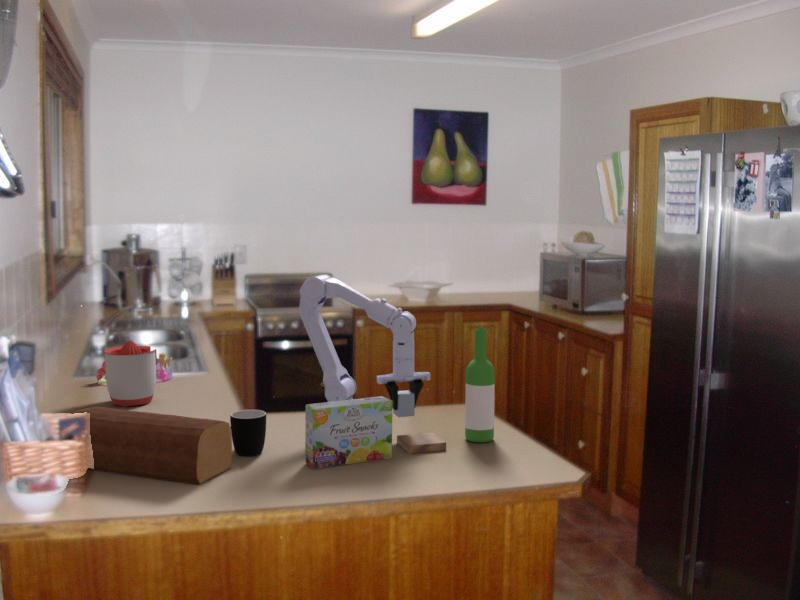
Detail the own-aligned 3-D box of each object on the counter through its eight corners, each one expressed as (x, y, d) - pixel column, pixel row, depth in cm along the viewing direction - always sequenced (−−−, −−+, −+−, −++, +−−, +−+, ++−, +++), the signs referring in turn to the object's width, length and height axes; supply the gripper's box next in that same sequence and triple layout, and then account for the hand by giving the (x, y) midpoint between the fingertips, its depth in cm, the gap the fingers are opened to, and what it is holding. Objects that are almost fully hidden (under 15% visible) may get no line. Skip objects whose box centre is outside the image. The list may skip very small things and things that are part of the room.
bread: (198, 488, 193) (196, 429, 191) (60, 468, 207) (58, 413, 205) (235, 467, 207) (234, 413, 206) (104, 450, 221) (102, 399, 219)
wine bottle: (482, 445, 225) (483, 332, 222) (458, 439, 230) (460, 328, 227) (499, 439, 231) (501, 328, 227) (476, 433, 236) (478, 325, 233)
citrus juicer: (170, 403, 270) (168, 340, 267) (114, 411, 260) (111, 346, 258) (154, 394, 282) (152, 333, 280) (100, 401, 273) (97, 338, 270)
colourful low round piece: (121, 372, 319) (120, 347, 318) (182, 374, 316) (181, 349, 314) (88, 387, 294) (87, 360, 293) (154, 389, 291) (153, 362, 290)
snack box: (313, 470, 205) (312, 408, 203) (305, 464, 210) (304, 403, 208) (393, 458, 214) (393, 399, 212) (383, 452, 219) (383, 394, 217)
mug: (274, 452, 218) (273, 413, 217) (244, 460, 212) (243, 420, 211) (246, 443, 227) (246, 405, 226) (217, 450, 221) (216, 411, 219)
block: (398, 417, 227) (398, 395, 226) (393, 413, 231) (393, 391, 230) (414, 415, 229) (414, 393, 228) (408, 411, 233) (408, 390, 232)
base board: (409, 453, 218) (409, 445, 218) (396, 442, 227) (396, 435, 227) (446, 449, 221) (446, 442, 221) (432, 439, 231) (432, 432, 230)
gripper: (382, 362, 222) (382, 414, 224) (434, 359, 227) (434, 409, 228) (374, 357, 229) (374, 407, 230) (425, 354, 233) (425, 403, 235)
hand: (403, 408), depth 230 cm, fingers closed on block, 4 cm apart
